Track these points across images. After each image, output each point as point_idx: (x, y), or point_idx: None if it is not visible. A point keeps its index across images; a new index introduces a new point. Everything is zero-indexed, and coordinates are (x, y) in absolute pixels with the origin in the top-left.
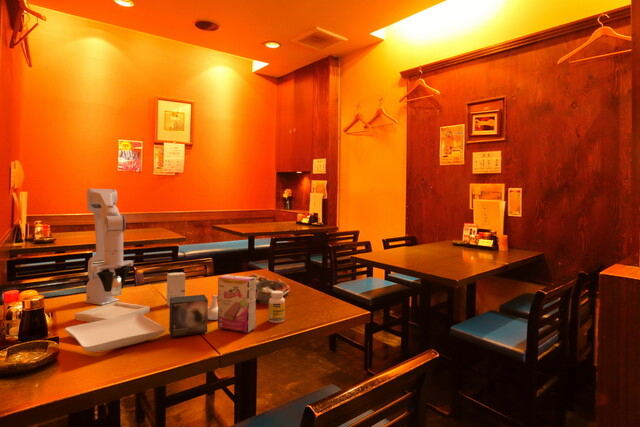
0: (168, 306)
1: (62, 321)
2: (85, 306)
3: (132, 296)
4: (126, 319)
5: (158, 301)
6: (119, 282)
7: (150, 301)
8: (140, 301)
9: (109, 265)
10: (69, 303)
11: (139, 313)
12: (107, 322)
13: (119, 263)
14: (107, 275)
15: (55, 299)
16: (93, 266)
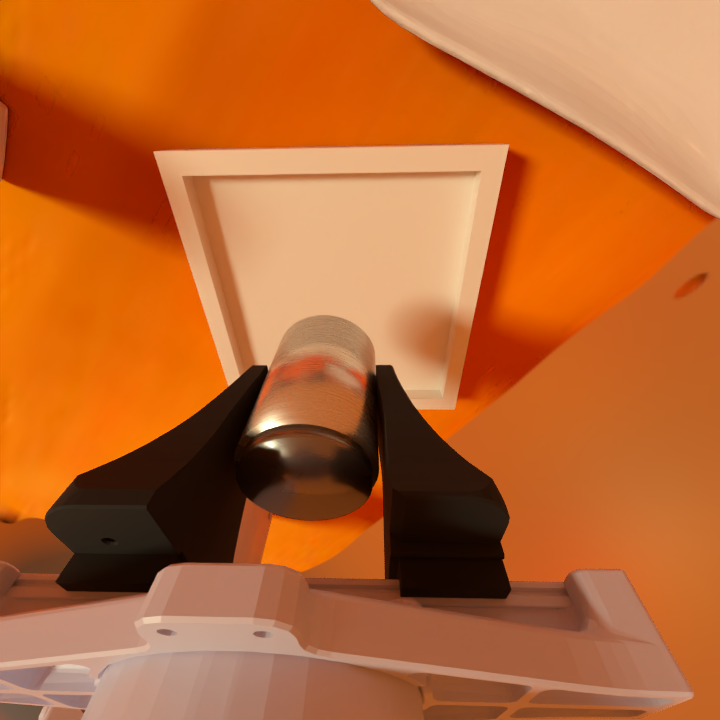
0: (6, 118)
1: (481, 408)
2: None
3: (111, 447)
4: (465, 27)
5: (31, 290)
6: (300, 383)
7: (72, 328)
8: (116, 369)
9: (469, 670)
10: (312, 525)
11: (260, 148)
12: (581, 97)
13: (246, 672)
14: (484, 476)
15: (306, 566)
16: (641, 716)
